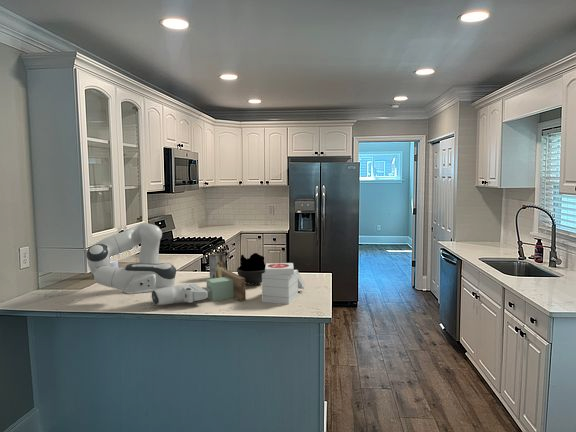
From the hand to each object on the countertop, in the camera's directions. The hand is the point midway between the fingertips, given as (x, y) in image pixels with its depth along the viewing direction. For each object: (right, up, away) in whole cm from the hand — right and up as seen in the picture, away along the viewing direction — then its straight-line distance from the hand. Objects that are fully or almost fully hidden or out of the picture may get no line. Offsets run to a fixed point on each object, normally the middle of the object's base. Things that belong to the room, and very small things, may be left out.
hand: (209, 289), depth 235 cm
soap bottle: (-76, -2, +57) cm, 95 cm away
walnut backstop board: (+12, -5, +7) cm, 15 cm away
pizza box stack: (+40, -5, +4) cm, 40 cm away
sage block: (+5, -5, +4) cm, 8 cm away
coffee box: (-3, -1, +47) cm, 47 cm away
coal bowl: (+21, -2, +32) cm, 38 cm away
